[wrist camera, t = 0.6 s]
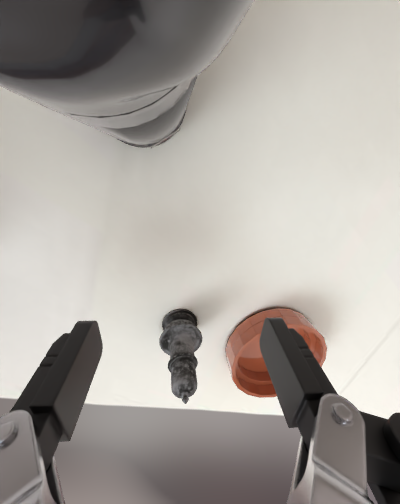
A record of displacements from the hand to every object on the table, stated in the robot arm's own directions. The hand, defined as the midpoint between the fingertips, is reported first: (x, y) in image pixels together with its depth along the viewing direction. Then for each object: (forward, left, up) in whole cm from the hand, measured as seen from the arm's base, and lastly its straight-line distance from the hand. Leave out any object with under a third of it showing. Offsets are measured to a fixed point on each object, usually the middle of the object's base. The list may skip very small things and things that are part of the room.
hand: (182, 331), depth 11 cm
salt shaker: (+15, -2, -19) cm, 24 cm away
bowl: (+23, +12, -18) cm, 32 cm away
